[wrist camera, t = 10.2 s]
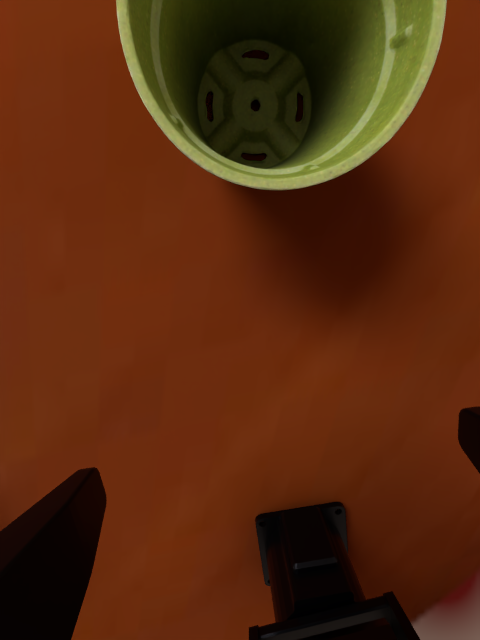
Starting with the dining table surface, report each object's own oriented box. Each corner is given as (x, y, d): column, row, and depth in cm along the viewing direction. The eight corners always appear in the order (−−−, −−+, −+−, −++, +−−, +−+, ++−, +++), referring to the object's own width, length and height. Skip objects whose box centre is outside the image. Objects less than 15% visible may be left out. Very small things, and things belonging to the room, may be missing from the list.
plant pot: (338, 202, 20) (428, 185, 11) (171, 207, 19) (135, 193, 11) (347, 3, 17) (470, -211, 9) (155, 3, 17) (90, -224, 8)
